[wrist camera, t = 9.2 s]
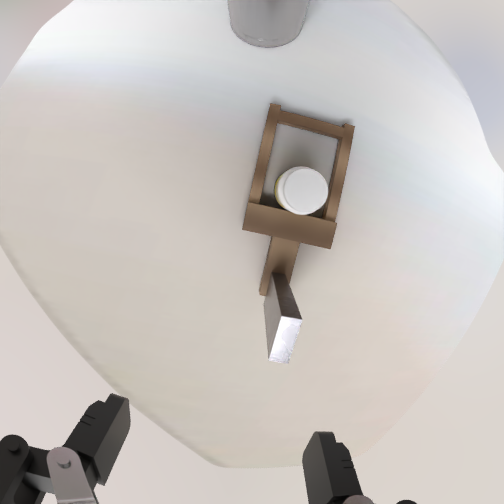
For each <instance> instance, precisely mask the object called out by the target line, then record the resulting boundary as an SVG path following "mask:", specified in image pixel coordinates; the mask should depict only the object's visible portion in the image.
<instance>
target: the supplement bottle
mask: <svg viewBox="0 0 504 504" xmlns="http://www.w3.org/2000/svg"><path fill="white" fill-rule="evenodd" d="M274 196H275V199H276V201H277V202H278V204H279V205H280V206H281V207H283V208H284V209H286V210H288V211H290V212H292V213H295V214H298V215H307V214H310V213H313V212H315V211H316V210H318V209H319V208H320V207H321V206H322V205H323V204H324V203H325V201H326V199H327V196H328V186H327V182H326V180H325V178H324V177H323V176H322V175H321V174H320V173H319V172H317V171H316V170H313V169H311V168H308V167H304V166H299V167H294V168H291V169H289V170H287V171H286V172H285V173H283V174H282V175H281V176H280V177H279V178H278V179H277V181H276V183H275V186H274Z"/></svg>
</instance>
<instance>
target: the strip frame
mask: <svg viewBox="0 0 504 504" xmlns="http://www.w3.org/2000/svg"><path fill="white" fill-rule="evenodd" d="M280 108H281V105H276V104H272V103H270V108H269V112H268V116H267V120H266V125H265V129H264V134H263V138H262V142H261V147H260V151H259V156H258V160H257V165H256V169H255V173H254V178H253V183H252V187H251V192H250V196H249V201H248V205H247V209H246V214H245V219H244V223H243V228H242V230H246V231H251V232H255V233H260V234H265V235H269V236H272V238H271V242H270V246H269V250H268V255H267V259H266V263H265V267H264V272H263V276H262V280H261V284H260V288H259V292H260V295H262V296H266V297H265V301H264V314H265V325H266V336H267V347H268V359H269V361H275V362H281V363H289V360H290V357H291V354H292V351H293V348H294V345H295V341H296V338H297V335H298V332H299V329H300V326H301V323H302V318H301V315H300V312H299V309H298V307H297V304H296V301H295V299H294V296H293V293H292V291H291V288H290V285H289V283H290V279H291V275H292V271H293V267H294V264H295V260H296V256H297V252H298V248H299V244H300V242H301V243H305V244H310V245H314V246H318V247H323V248H327V249H331V245H332V242H333V238H334V234H335V230H336V226H337V223H335V219H336V215H337V210H338V206H339V202H340V197H341V193H342V188H343V184H344V179H345V174H346V170H347V165H348V160H349V155H350V150H351V144H352V139H353V133H354V128H355V126H352V125H349V124H346V123H345V124H343V125H342V126H341V127H340V126H337V125H333V124H330V123H327V122H323V121H320V120H316V119H313V118H309V117H305V116H301V115H297V114H294V113H289V112H285V111H281V110H280ZM277 123H279V124H284V125H288V126H292V127H296V128H300V129H304V130H308V131H311V132H315V133H318V134H322V135H326V136H329V137H332V138H336V139H339V142H338V147H337V152H336V157H335V162H334V167H333V171H332V176H331V181H330V185H329V190H328V196H327V199H326V203H325V207H324V211H323V216H322V218H318V217H314V216H310V215H298V214H295V213H292V212H290V211H288V210H285V209H280V208H276V207H271V206H267V205H262V204H259V202H260V197H261V193H262V188H263V184H264V179H265V175H266V170H267V166H268V161H269V157H270V152H271V148H272V144H273V139H274V135H275V130H276V126H277Z"/></svg>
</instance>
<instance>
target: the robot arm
mask: <svg viewBox="0 0 504 504" xmlns="http://www.w3.org/2000/svg"><path fill="white" fill-rule="evenodd" d="M309 3H310V0H228V7H229V15H230V22H231V26H232V29H233V31H234V33H235V34H236V35H237V36H238V37H239V38H240V39H242V40H243V41H245V42H247V43H249V44H251V45H255V46H259V47H277V46H282V45H284V44H287V43H289V42H291V41H292V40H294V39H295V38H296V37H297V36H298V34H299V33H300V31H301V28H302V25H303V22H304V18H305V16H306V12H307V9H308V6H309ZM129 429H130V411H129V400H128V398H124V397H121V396H118V395H115V394H113V393H112V394H110V395H109V397H108V399H107V400H106V402H102V401H99V400H98V401H96V402H95V403H93V404H92V405H90V406H89V407H88V409H87V410H86V412H85V413H84V415H83V416H82V418H81V419H80V422H78V424H77V425H76V427H75V429H74V430H73V432H72V433H71V435H70V436H69V438H68V439H67V441H66V443H65V444H64V445H63V446H62V447H57V448H54V449H52V450H43V449H39V448H35V447H31V446H28V444H27V442H26V441H25V440H24V439H23V438H22V437H20V436H18V435H8V436H5V437H4V438H3V439H2V440H1V441H0V504H41V502H42V500H43V498H44V496H45V494H46V492H48V493H52V494H55V496H56V499H57V503H58V504H99V502H98V500H97V497H96V495H95V492H94V487H95V486H96V484H97V483H98V484H101V485H103V486H104V485H105V483H106V481H107V479H108V476H109V474H110V472H111V470H112V467H113V465H114V463H115V461H116V459H117V456H118V454H119V452H120V450H121V447H122V445H123V443H124V441H125V439H126V437H127V434H128V432H129ZM302 463H303V469H304V475H305V481H306V488H307V495H308V501H309V504H374V503H373V502H372V500H371V499H369V498H368V497H366V496H364V495H363V493H362V491H361V487H360V484H359V481H358V478H357V475H356V471H355V469H354V465H353V462H352V461H351V456H350V453H349V450H348V449H347V448H346V447H345V446H344V444H343V443H336V440H335V436H334V434H333V432H317V431H316V432H314V434H313V436H312V438H311V439H310V441H309V443H308V445H307V447H306V449H305V451H304V453H303V459H302ZM397 504H416V503H415V502H413V501H411V500H402V501H399V502H398V503H397Z"/></svg>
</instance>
